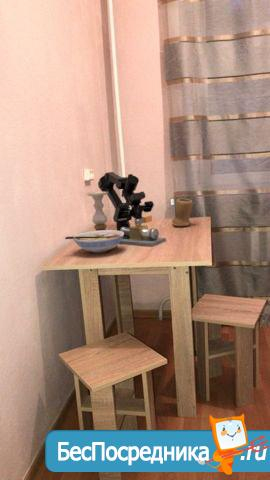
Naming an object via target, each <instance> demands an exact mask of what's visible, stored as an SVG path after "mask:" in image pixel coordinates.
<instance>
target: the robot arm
mask: <svg viewBox="0 0 270 480" xmlns="http://www.w3.org/2000/svg"><path fill="white" fill-rule="evenodd" d="M139 182H140V180H139V178H138V177H137V176H135V175H134V174H132V173H129V174H128V175H127V176H125V177H124V176H120V175H119V174H116V173H115V172H113V171H110V172H105V173H104V175H102V176H101V177H100V178H99V180H98V182H97V186H98V188H99V190H100V192H103V191H105V192H108V194H106V195H107V197H108V199H109V201H111V203H112V206H113V207H114V210H115V211H114V215H113V217H112V219H113V222H114V223H115V224H116V231H120V228H121V227H127V228H130V227H131V223H130V221H132V219H134V220H135V219H140V218H142V217H143V213H150V212H152V211H153V208H154V206H155V204H154V202H153V201H152V200H149V201H144V203H143V204H142V200H144V199H145V198H146V193H145V191H139V192H135V191H136V189H137V186H138V185H139ZM114 187H116V189H117V190H121V197H122V198H124V202H123V201H122V200H121V198H120V197H119V195H118V193H117V191H116V189H115V188H114Z"/></svg>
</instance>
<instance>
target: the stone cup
mask: <svg viewBox="0 0 270 480" xmlns="http://www.w3.org/2000/svg"><path fill="white" fill-rule="evenodd" d="M193 205H194V202H193V200H192V199H189V198H184V197H183V198H177V199H176V200H175V213H176V214H175V215H176V217H174V218H172V220H171V223H172V225H173V226H175V227H188V226H189V225H191V221H190V216H191V213H192V211H193Z"/></svg>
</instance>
